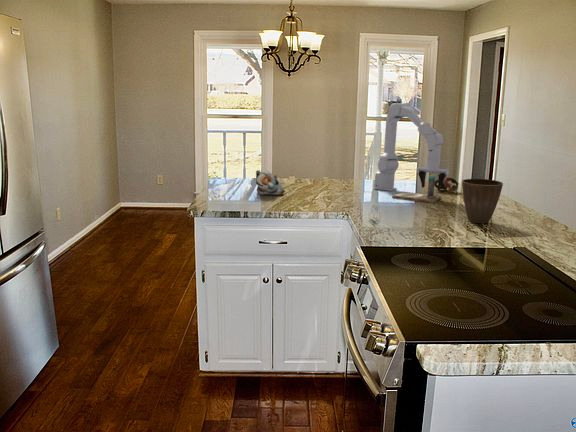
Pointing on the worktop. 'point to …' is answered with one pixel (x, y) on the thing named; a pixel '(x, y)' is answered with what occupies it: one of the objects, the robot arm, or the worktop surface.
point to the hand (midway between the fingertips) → (431, 188)
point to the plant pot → (480, 198)
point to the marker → (431, 186)
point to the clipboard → (416, 197)
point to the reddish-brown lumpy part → (447, 184)
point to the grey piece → (268, 183)
